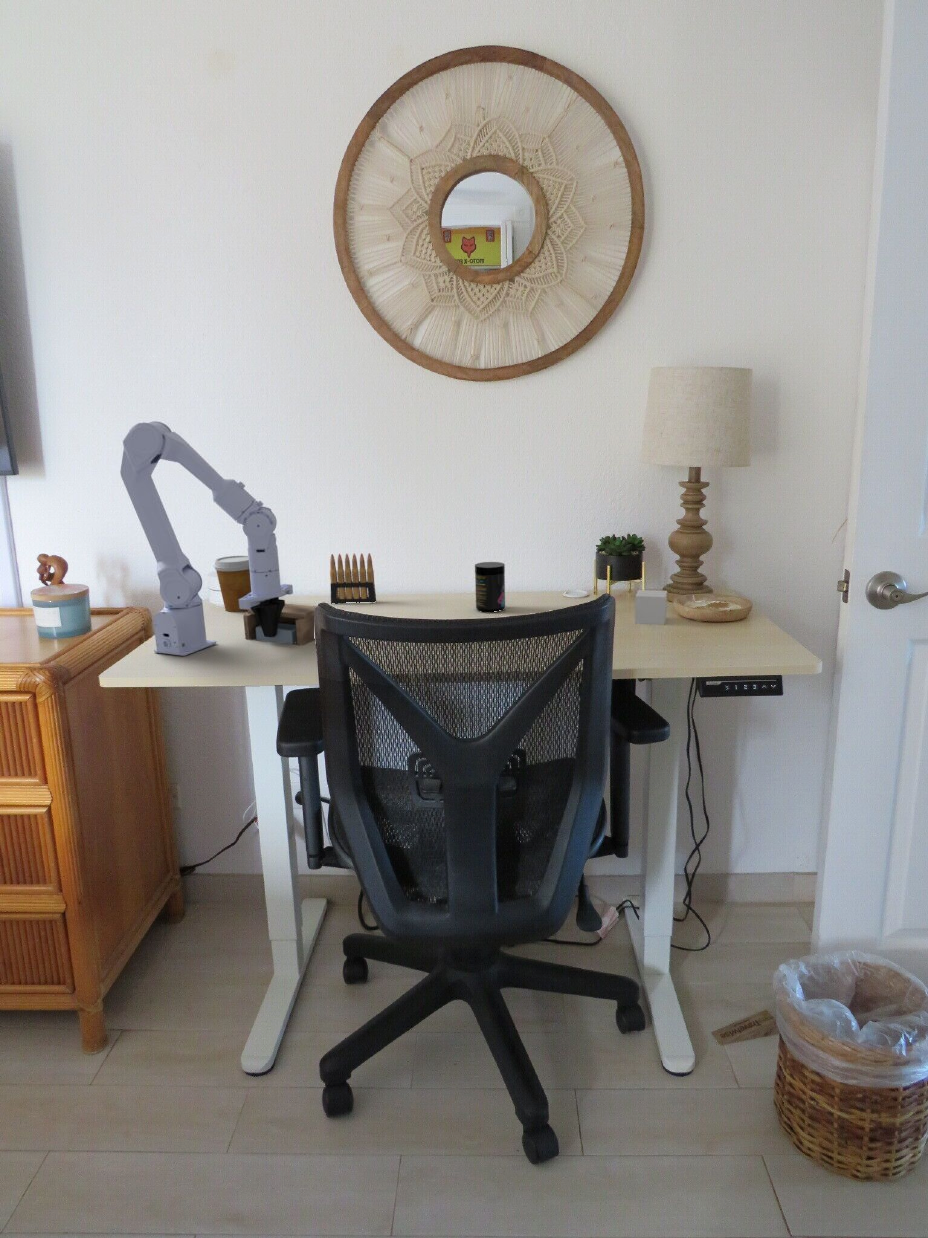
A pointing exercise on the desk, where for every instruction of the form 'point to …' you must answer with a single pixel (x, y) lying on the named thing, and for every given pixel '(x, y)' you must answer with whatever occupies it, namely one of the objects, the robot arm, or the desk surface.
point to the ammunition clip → (352, 580)
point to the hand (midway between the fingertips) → (270, 636)
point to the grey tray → (280, 634)
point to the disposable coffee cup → (233, 580)
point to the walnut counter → (290, 615)
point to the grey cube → (650, 607)
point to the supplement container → (490, 586)
